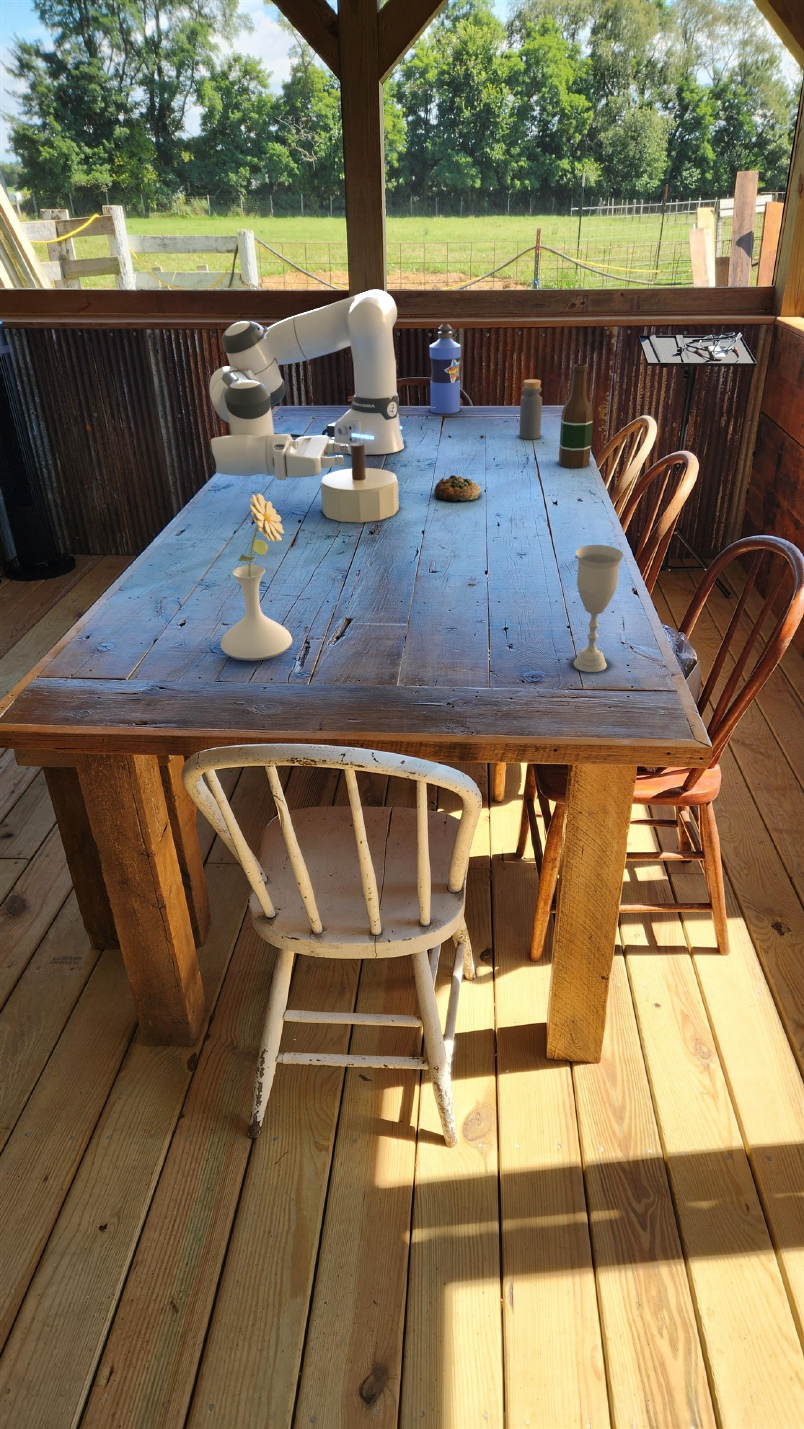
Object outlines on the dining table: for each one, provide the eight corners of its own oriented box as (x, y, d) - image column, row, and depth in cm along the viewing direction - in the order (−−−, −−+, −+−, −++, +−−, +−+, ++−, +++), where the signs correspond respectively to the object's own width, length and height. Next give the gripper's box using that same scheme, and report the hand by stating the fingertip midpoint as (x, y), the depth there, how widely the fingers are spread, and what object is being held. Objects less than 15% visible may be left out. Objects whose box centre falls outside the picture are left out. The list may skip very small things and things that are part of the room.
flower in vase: (262, 673, 148) (245, 516, 135) (206, 657, 153) (185, 504, 140) (313, 641, 157) (301, 491, 144) (259, 627, 162) (243, 481, 150)
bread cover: (308, 511, 215) (303, 445, 208) (361, 494, 225) (358, 430, 218) (360, 527, 205) (356, 458, 198) (412, 508, 215) (411, 442, 208)
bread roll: (423, 495, 222) (426, 473, 220) (454, 490, 230) (456, 469, 228) (460, 506, 216) (463, 484, 214) (490, 501, 224) (493, 479, 221)
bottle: (540, 434, 269) (542, 378, 262) (540, 439, 264) (543, 382, 257) (519, 434, 270) (521, 378, 262) (519, 439, 265) (521, 382, 257)
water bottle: (466, 409, 297) (467, 323, 285) (446, 415, 292) (446, 327, 279) (443, 405, 303) (443, 320, 290) (423, 410, 297) (422, 324, 285)
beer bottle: (591, 460, 245) (599, 362, 233) (586, 469, 238) (594, 368, 226) (561, 458, 247) (567, 361, 235) (555, 467, 241) (561, 367, 229)
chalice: (562, 655, 151) (570, 546, 142) (605, 652, 151) (615, 543, 142) (574, 676, 144) (582, 564, 135) (618, 674, 145) (629, 561, 136)
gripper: (291, 456, 220) (351, 455, 219) (276, 482, 203) (342, 482, 202) (289, 428, 217) (350, 427, 216) (274, 452, 199) (340, 451, 199)
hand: (346, 454), depth 209 cm, fingers open, 8 cm apart
